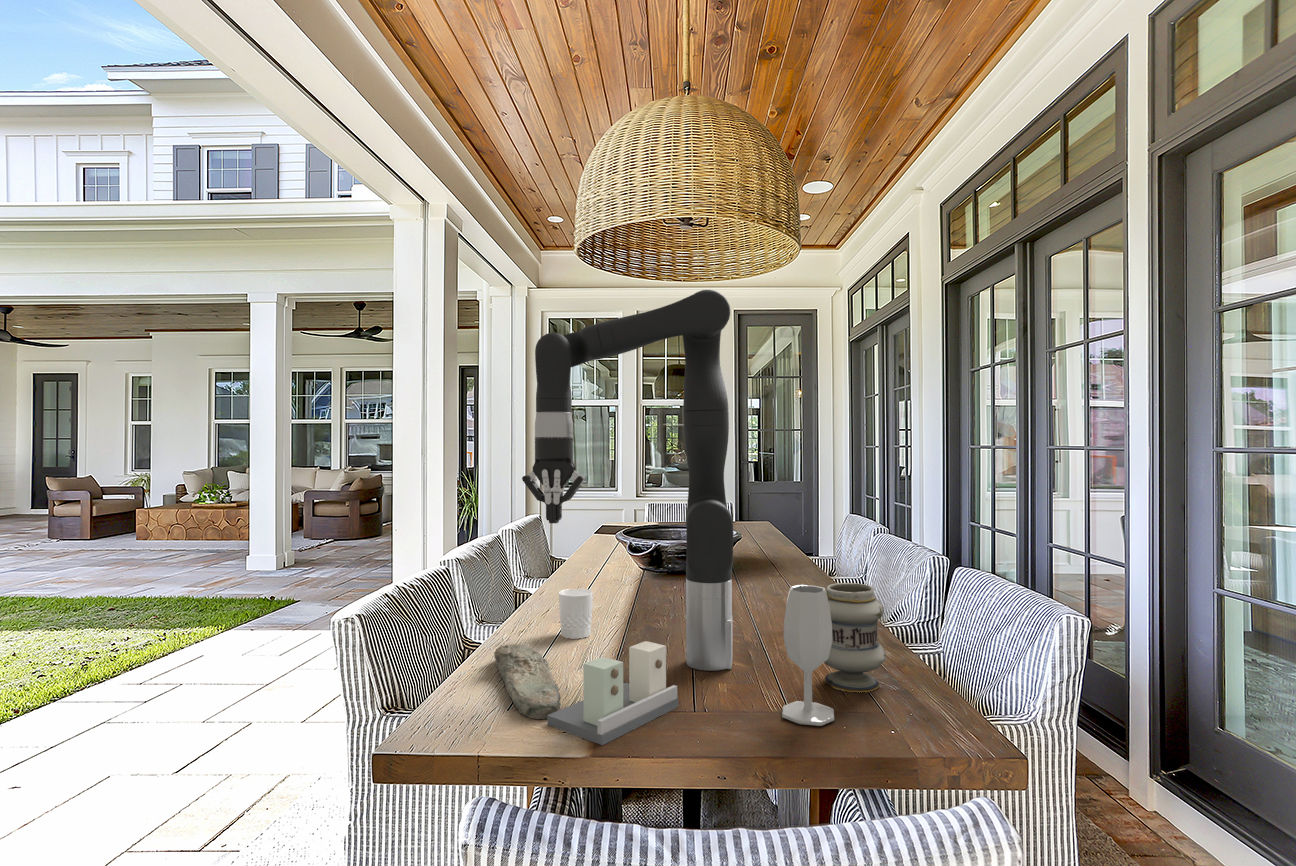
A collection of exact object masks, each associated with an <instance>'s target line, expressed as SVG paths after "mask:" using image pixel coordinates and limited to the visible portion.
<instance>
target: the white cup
mask: <svg viewBox="0 0 1296 866" xmlns="http://www.w3.org/2000/svg"><path fill="white" fill-rule="evenodd" d="M593 598H594V591H593V590H591V589H588V588H567V589H563V590H562V589H561V590H560V591H559V592H558V603H559V605H558V606H559V619H560V620H559V622H560V634H561V637H562V638H564V637H565V638H564V639H568V638H570V639H569V640H578V639H579V638H581V639H586V638H588V636H589V635H591V633H592V619H593V616H592V615H593V601H594V599H593ZM585 637H586V638H585ZM589 637H590V636H589ZM579 640H580V639H579Z"/></svg>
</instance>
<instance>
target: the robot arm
mask: <svg viewBox="0 0 1296 866" xmlns="http://www.w3.org/2000/svg"><path fill="white" fill-rule="evenodd" d="M730 317H731V305H730V302H729V301H728V299H727V297H725V295H723V294H722V293H720V292H718V291H717V290H713V289H701V290H699V291H696V292H694V293H693V294H691V295H688V296H687V297H685V298H682V299H680V300H678V301H675V302H673V303H670V304H667V305H664V306H661V307H657V308H655V309H652V310H648V311H647V310H646V311H645V312H644V311H643V312H641V313H635V314H632V315H631V314H630V315H628V316H622V317H618V318H614V319H610V320H606V321H601V322H597V323H594V324H590V325H588V326H587V325H586V326H585V327H583V328H582V329H580V330H578V331H574V332H571V333H566V334H561V333H558V332H549V333H545V334H543V335H542V336H541V337H540V338H539V339H538V341H537V342H536V344H535V349H534V356H535V357H534V359H535V360H534V362H535V363H534V364H535V376H536V390H535V391H536V394H535V419H534V420H535V421H534V464H533V465H532V471H530V472H529V473H527V475H524V476H522V478H521V479H522V482H523V483H524V485H525V486H526V488H528V490H529V491H530V492H531V494H532V495H533V496H534V498H535V499H536V500H537V501H538V502H542V503H544V505H545V519H546V521H548V524H559V522H560V521H561V520H562V518H563V515H562V514H563V511H562V510H563V509H562V508H563V503H564V502H565V503H566V502H568V501H570V500H571V499H572V498H573V497H574V495H576V493H577V492H578V490H579V489H580V488H581V486H582V485H583V484H584V483H585V481H586V476H585V475H581V474H580V472H578V471H577V470H576V466H575V464H574V423H573V415H572V413H573V412H572V411H573V410H572V409H573V408H572V407H573V405H572V403H573V402H572V389H571V368H575V367H576V366H579V365H583V364H585V363H587V362H592V361H595V360H597V361H598V360H602V359H607V358H610V357H614V356H618V355H620V354H625V353H629V352H632V351H635V350H637V349H640V348H642V347H643V348H644V347H645V346H648V345H650V344H651V345H652V344H654V343H656V342H659V341H663V340H666V339H671V338H675V337H681V336H682V342H683V350H684V351H683V353H684V367H685V368H684V383H683V403H682V404H683V406H682V407H683V412H682V413H683V435H684V436H683V437H684V447H685V455H686V461H687V468H688V492H687V503H686V512H685V527H686V532H685V533H686V564H685V656H686V657H685V660H686V661H685V663H686V665H687V667H689V668H692V669H695V670H699V671H710V672H711V671H712V672H713V671H722V670H723V671H724V670H731V669H732V667H733V614H732V613H733V610H732V609H733V607H732V606H733V601H732V600H733V596H732V595H733V593H732V592H733V589H732V587H733V586H732V585H733V582H732V581H733V580H732V578H733V577H732V576H733V574H732V573H733V564H734V522H733V516H732V514H731V512H730V511H729V509H728V505H727V504H728V503H727V499H726V498H727V497H726V490H725V488H726V487H725V466H726V460H727V452H728V445H729V432H730V422H729V421H730V420H729V419H730V418H729V415H730V413H729V411H730V410H729V401H728V395H727V390H726V388H727V387H726V384H725V381H724V376H723V373H722V368H721V367H722V366H721V359H720V357H721V356H720V354H721V352H720V351H721V335H722V331H723V329H725V327H726V326H727V324H728V322H729V321H730V319H731V318H730ZM570 479H571V483H572V484H571V485H570V486H569V488H568V489H567V490H566V492H565V493H564V491H565V486H566V485H567V484H568V483H569V481H570ZM537 480H539V483H540V484H541V485H542V486H543V488H541V487H540V486H539V484H538V483H537ZM542 489H543V490H542Z"/></svg>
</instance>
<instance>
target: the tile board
mask: <svg viewBox="0 0 1296 866" xmlns="http://www.w3.org/2000/svg"><path fill="white" fill-rule="evenodd" d="M676 707H677V708H679V697H678V685H675V684H673V685H670V686H669V687H666V689H664V690H662V691H660V692H658V693H655V694H653V695H651V696H649V697H647V698H645V699H642V700H640V701H638V702H633V701H630V700H629V682H623V709H621V710H619V711H616V712H614V713H612V714H610V715H608V716H605V717H603V718H601V719H599V720H597V726H596V725H593V724H590V723H587V722H585V721H584V699H582V700H580V701H578V702H575V703H573V704H571V705H568V706H567V707H566V706H565V707H564V708H561V709H559V710H558V711H556V712H554V713H551V714H549V715H547V719H546V721H547V722H546V724H547V726H549V727H552V726H553V728H555V729H558V730H561V731H563V732H566V733H568V734H571V735H574V736H575V737H578V738H582V739H584V740H587V741H588V742H589V741H590V742H592V743H595V744H597V745H600V746H604V745H606V744H608V743H610V742H612V741H614V740H616V739H618V738H620V737H622V736H624V735H626V734H628V733H630V732H633V731H634V730H636V729H638V728H640V727H641V726H644V725H646V724H648V723H649V722H652V721H653V720H656V719H657V717H658V718H660V717H662V716H663V715H666V714H668V713H670V712H671V711H673V710H675V709H677V708H676ZM674 708H675V709H674ZM659 716H660V717H659Z"/></svg>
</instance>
